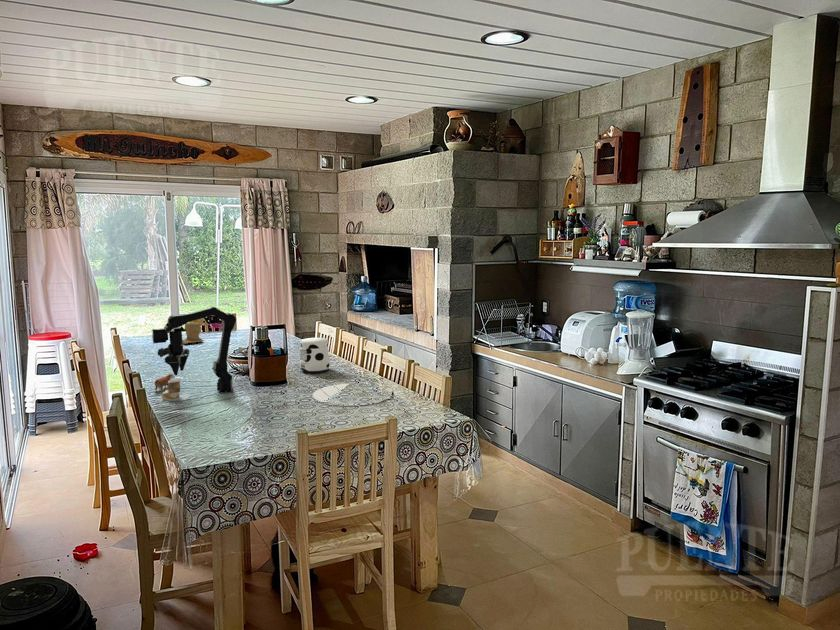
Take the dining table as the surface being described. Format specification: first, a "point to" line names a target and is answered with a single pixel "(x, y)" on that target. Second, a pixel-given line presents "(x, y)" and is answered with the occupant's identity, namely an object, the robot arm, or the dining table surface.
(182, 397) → the mat
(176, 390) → the walnut cube
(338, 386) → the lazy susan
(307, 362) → the milk container
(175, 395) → the oak base block
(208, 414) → the dining table surface
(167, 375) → the bull figurine
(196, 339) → the stone cup
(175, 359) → the robot arm
